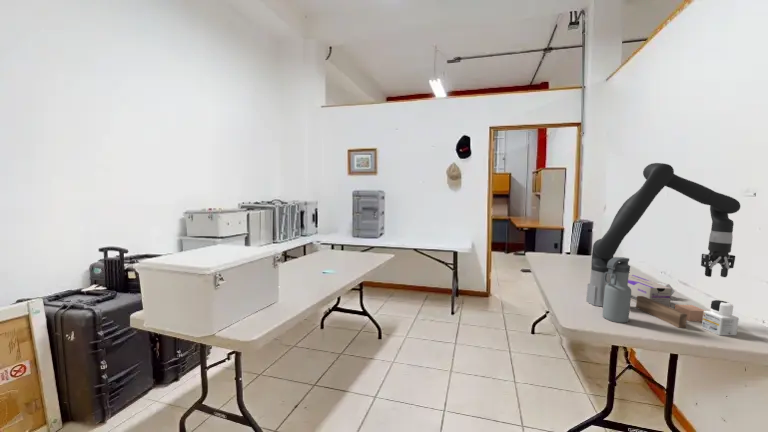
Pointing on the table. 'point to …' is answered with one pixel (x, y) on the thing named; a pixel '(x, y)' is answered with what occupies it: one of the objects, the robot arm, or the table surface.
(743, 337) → the table surface
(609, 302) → the water bottle
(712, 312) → the container
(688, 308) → the block
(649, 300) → the stop board
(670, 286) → the die
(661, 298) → the surgical sutures box
